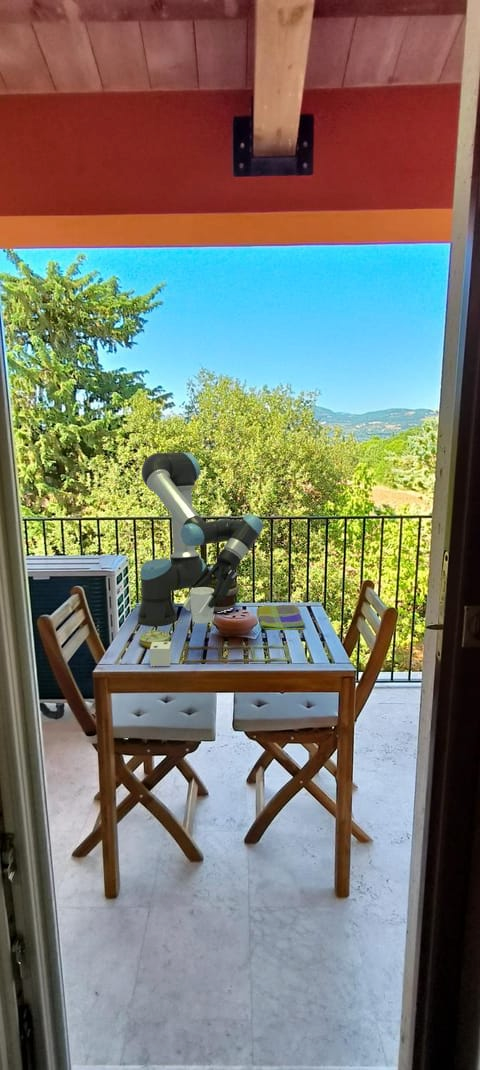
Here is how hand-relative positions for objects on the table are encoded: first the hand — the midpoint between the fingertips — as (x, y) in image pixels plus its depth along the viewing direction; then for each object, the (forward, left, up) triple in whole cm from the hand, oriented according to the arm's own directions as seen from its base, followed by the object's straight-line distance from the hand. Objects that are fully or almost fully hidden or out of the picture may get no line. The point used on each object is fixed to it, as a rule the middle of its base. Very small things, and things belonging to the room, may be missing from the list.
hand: (194, 611), depth 171 cm
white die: (-10, -4, -16) cm, 19 cm away
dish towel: (+32, +37, -16) cm, 51 cm away
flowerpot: (+9, +49, -16) cm, 52 cm away
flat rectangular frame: (+14, +2, -16) cm, 21 cm away
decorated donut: (-14, +13, -16) cm, 25 cm away
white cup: (+3, +2, -4) cm, 5 cm away
